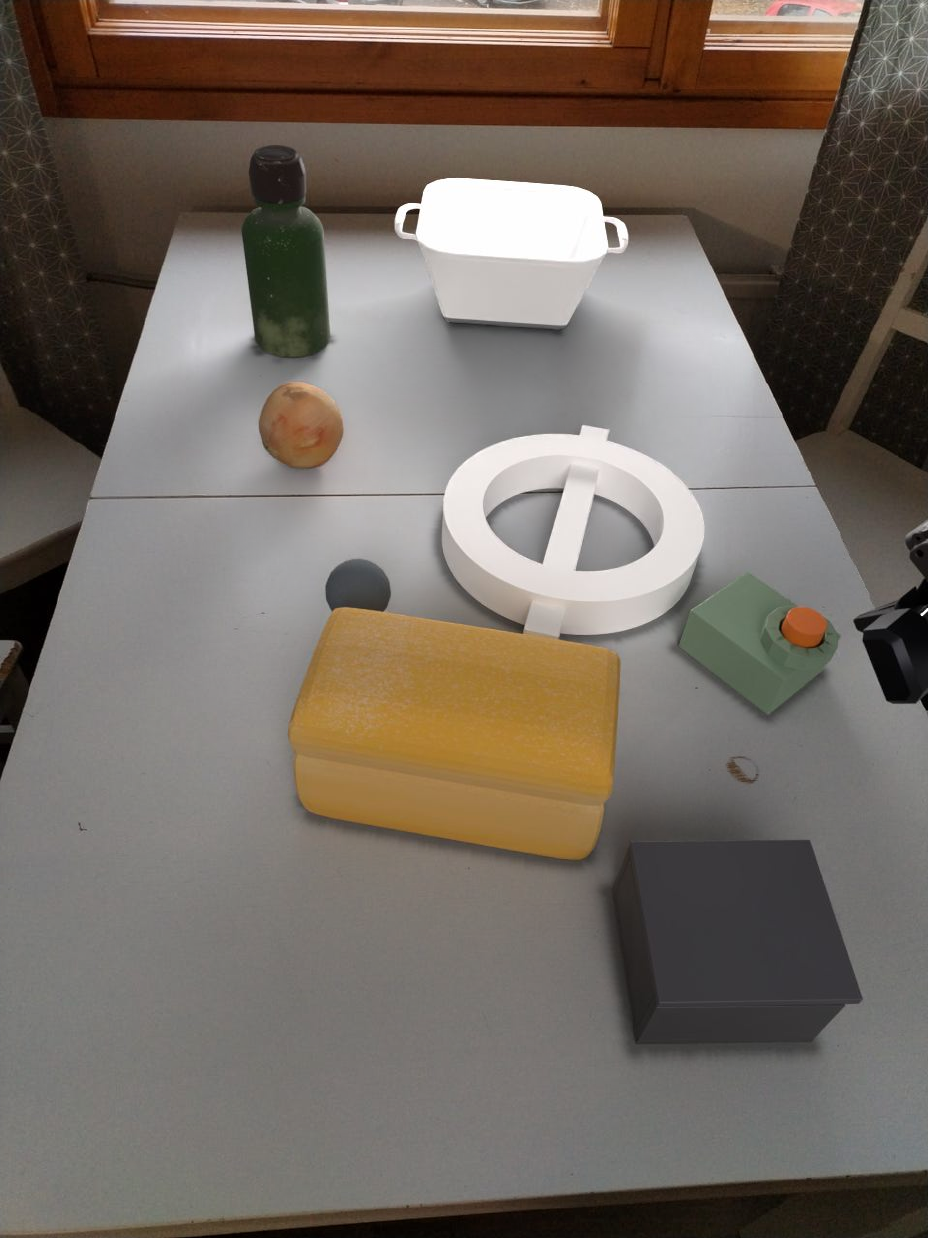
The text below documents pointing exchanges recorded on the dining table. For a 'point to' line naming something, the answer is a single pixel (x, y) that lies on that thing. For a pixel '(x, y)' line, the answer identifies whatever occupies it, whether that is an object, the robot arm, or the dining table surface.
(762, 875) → the fryer lid
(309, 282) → the green bottle
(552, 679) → the bread
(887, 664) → the robot arm
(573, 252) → the tub
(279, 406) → the orange-brown rounded lump
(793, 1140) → the dining table surface
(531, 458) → the white circle with bar
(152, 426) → the dining table surface
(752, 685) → the control block
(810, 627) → the button
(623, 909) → the charcoal lidded box
